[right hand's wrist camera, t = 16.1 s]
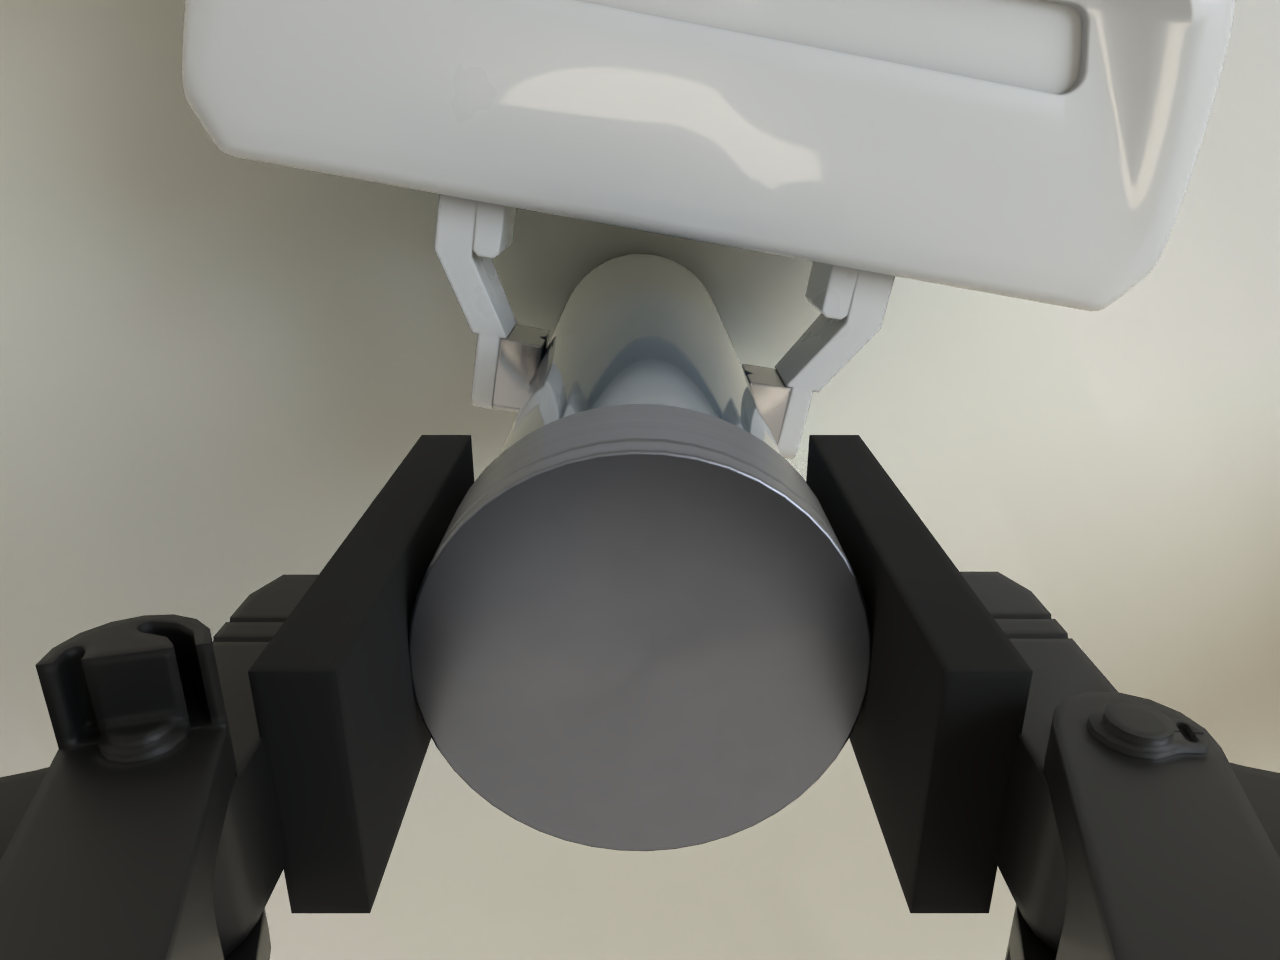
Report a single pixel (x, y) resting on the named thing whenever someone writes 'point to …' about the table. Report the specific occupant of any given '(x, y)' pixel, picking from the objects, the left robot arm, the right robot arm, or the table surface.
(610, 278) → the jar
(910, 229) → the left robot arm
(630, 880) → the table surface
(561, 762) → the lid
